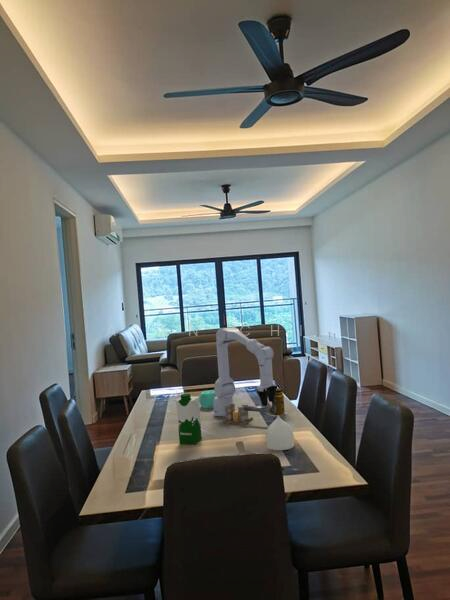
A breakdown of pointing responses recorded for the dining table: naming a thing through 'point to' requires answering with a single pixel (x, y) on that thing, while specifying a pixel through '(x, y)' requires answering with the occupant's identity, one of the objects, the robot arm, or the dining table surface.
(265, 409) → the shaft
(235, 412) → the block
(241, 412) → the bearing stand
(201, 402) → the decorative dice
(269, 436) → the teardrop
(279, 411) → the condiment
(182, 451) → the dining table surface
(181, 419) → the milk carton
